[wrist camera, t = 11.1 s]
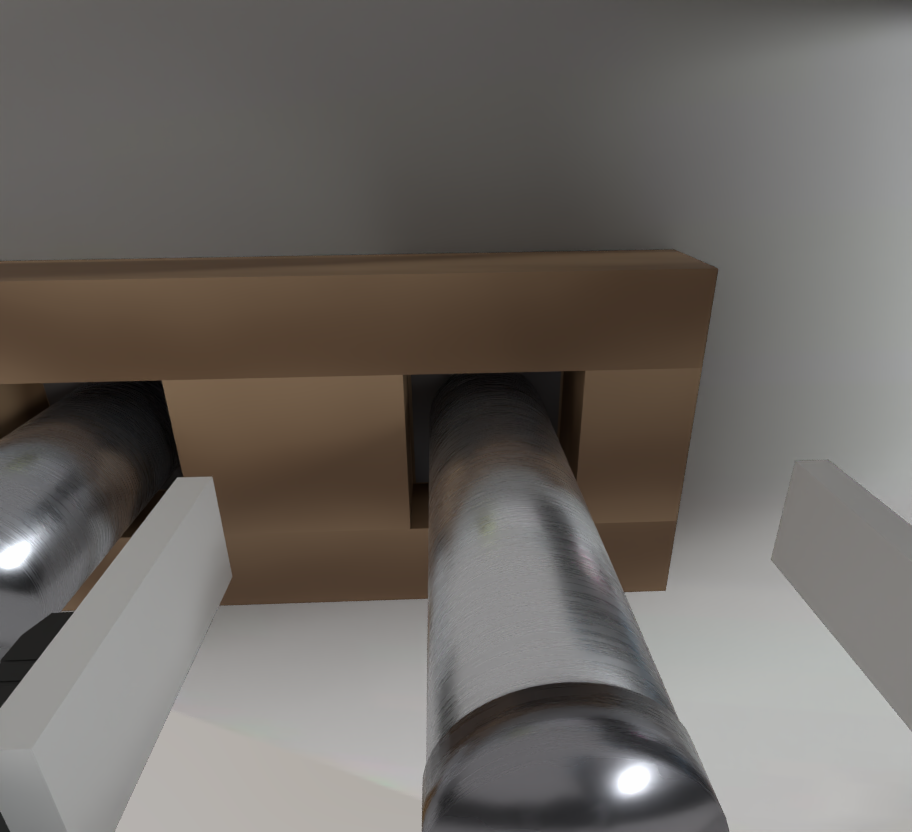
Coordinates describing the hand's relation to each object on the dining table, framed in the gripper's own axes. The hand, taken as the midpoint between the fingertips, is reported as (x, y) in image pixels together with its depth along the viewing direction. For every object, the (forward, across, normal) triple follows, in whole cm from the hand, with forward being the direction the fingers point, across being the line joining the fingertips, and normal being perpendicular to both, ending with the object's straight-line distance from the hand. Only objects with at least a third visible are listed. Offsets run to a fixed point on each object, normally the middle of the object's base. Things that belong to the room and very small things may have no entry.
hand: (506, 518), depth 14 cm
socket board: (+6, -6, 0) cm, 8 cm away
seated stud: (+6, -11, 0) cm, 12 cm away
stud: (+6, 0, 0) cm, 6 cm away
